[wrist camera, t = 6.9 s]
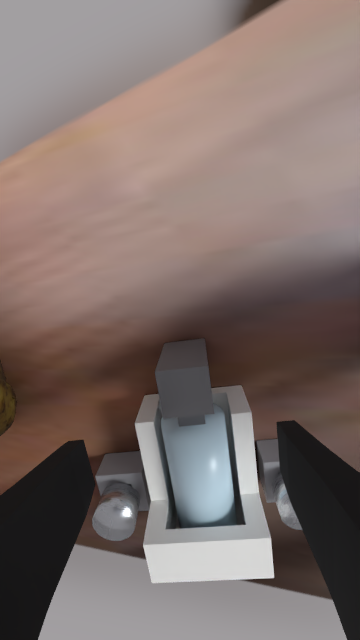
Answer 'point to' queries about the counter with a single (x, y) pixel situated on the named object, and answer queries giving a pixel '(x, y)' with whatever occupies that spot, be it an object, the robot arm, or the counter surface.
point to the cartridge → (194, 437)
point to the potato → (6, 403)
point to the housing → (158, 498)
